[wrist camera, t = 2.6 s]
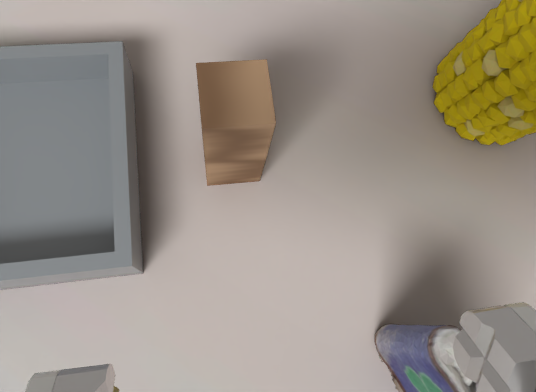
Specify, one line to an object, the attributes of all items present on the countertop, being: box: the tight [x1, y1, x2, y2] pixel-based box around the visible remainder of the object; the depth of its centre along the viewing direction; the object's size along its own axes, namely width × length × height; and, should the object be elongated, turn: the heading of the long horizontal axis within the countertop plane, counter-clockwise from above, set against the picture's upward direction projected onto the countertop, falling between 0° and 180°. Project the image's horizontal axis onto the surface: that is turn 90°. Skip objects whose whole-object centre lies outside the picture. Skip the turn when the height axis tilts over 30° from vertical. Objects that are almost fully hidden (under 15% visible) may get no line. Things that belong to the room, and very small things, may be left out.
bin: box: [0, 41, 143, 290], centre depth 30 cm, size 14×16×4 cm
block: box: [196, 60, 276, 186], centre depth 29 cm, size 4×4×10 cm
